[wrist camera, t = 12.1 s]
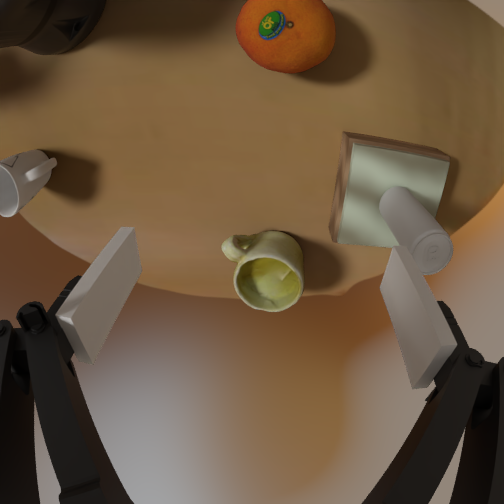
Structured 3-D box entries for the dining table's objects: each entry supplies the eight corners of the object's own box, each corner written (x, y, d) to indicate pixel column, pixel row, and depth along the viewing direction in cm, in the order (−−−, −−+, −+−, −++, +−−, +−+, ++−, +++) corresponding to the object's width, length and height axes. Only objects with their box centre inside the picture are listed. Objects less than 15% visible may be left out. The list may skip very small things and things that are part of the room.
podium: (342, 131, 36) (351, 139, 32) (436, 148, 36) (453, 159, 31) (328, 227, 44) (333, 246, 40) (414, 235, 43) (426, 253, 39)
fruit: (335, 6, 27) (350, -8, 21) (321, 80, 33) (332, 83, 26) (247, -9, 27) (240, -28, 20) (234, 65, 33) (223, 63, 26)
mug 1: (60, 129, 38) (18, 149, 29) (76, 178, 42) (39, 207, 34) (17, 151, 40) (-22, 173, 31) (32, 194, 44) (-3, 222, 36)
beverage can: (379, 223, 37) (410, 281, 27) (375, 188, 35) (410, 238, 25) (413, 215, 36) (452, 270, 26) (411, 181, 34) (455, 228, 24)
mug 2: (329, 266, 45) (309, 311, 38) (276, 283, 52) (249, 324, 44) (286, 195, 42) (254, 229, 35) (234, 222, 49) (198, 256, 41)
